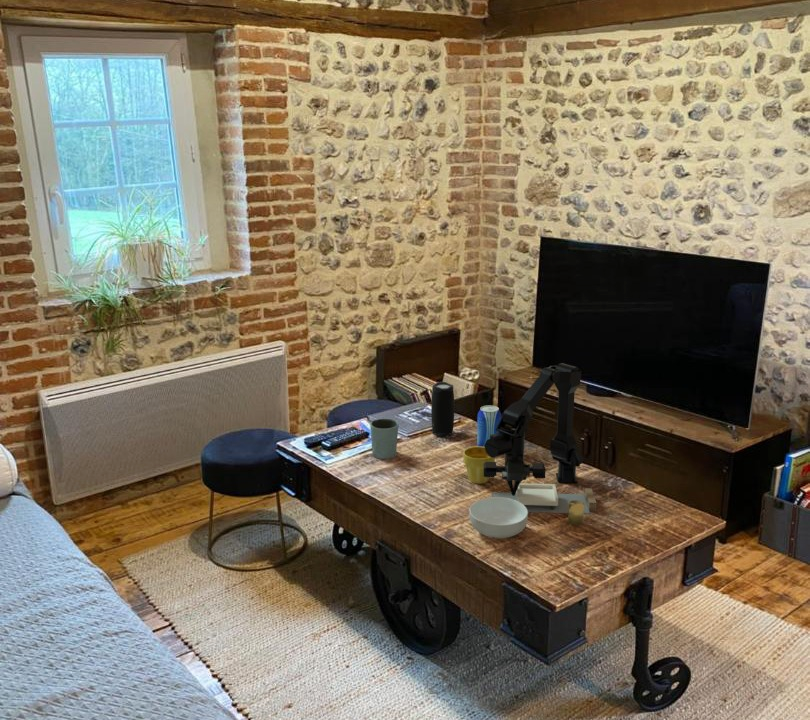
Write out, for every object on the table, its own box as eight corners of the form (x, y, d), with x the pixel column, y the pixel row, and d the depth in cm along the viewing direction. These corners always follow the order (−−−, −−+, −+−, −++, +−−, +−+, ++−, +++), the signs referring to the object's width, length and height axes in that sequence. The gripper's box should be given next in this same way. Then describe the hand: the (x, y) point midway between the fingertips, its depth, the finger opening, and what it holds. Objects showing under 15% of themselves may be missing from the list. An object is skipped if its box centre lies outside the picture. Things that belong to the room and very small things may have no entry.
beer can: (501, 454, 285) (502, 412, 280) (477, 454, 285) (478, 412, 280) (499, 445, 293) (500, 404, 288) (476, 445, 293) (476, 404, 288)
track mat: (491, 492, 256) (491, 492, 256) (583, 494, 254) (583, 494, 254) (493, 511, 243) (493, 510, 243) (589, 513, 241) (589, 513, 241)
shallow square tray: (515, 494, 254) (516, 483, 253) (554, 495, 253) (554, 484, 252) (517, 509, 244) (518, 497, 243) (557, 510, 243) (558, 498, 242)
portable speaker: (433, 439, 299) (433, 389, 294) (429, 429, 308) (429, 381, 303) (456, 437, 300) (456, 388, 295) (451, 428, 309) (452, 380, 304)
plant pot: (479, 489, 258) (479, 461, 255) (456, 479, 266) (456, 451, 263) (500, 480, 265) (501, 452, 262) (478, 470, 272) (478, 443, 269)
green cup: (382, 446, 293) (381, 416, 289) (404, 453, 287) (404, 421, 283) (364, 456, 285) (364, 424, 281) (387, 462, 279) (387, 430, 276)
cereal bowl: (458, 524, 236) (459, 502, 234) (508, 513, 242) (508, 492, 240) (486, 551, 221) (487, 528, 219) (538, 539, 227) (539, 516, 225)
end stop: (584, 496, 252) (584, 488, 252) (590, 497, 252) (591, 488, 251) (589, 511, 243) (589, 502, 242) (595, 511, 243) (596, 502, 242)
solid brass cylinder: (566, 518, 239) (567, 500, 237) (581, 519, 238) (583, 500, 237) (568, 525, 235) (569, 507, 233) (584, 526, 234) (585, 507, 233)
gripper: (484, 458, 237) (483, 506, 242) (548, 460, 236) (545, 508, 240) (483, 444, 248) (482, 490, 252) (544, 445, 246) (542, 491, 251)
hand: (513, 495), depth 249 cm, fingers closed
